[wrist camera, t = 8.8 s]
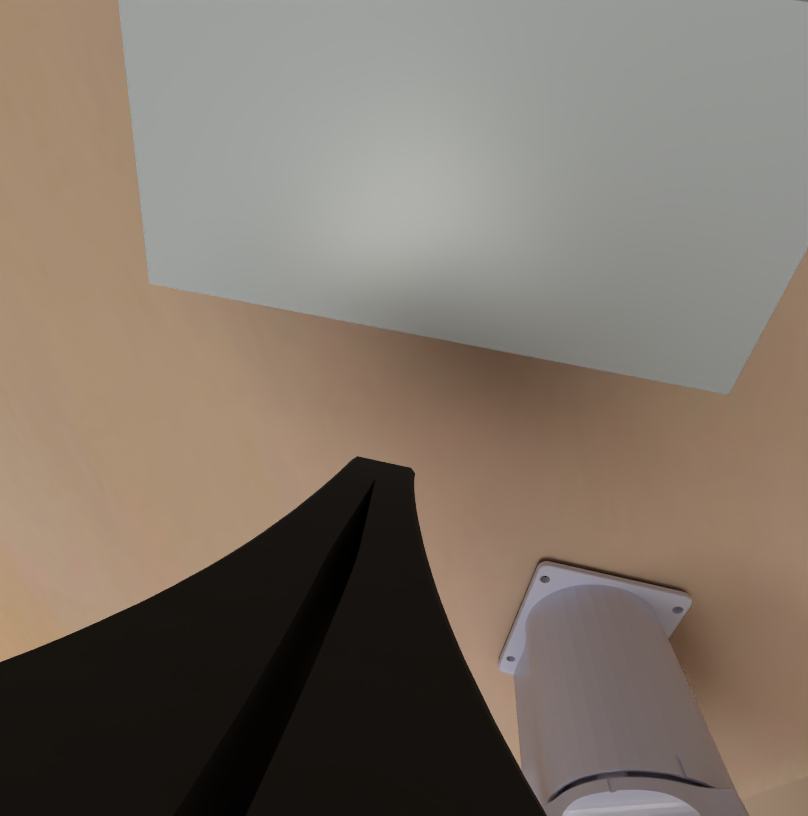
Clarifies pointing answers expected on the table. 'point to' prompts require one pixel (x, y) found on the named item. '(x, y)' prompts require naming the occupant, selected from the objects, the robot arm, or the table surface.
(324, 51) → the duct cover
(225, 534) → the table surface
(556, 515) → the table surface
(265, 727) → the robot arm
